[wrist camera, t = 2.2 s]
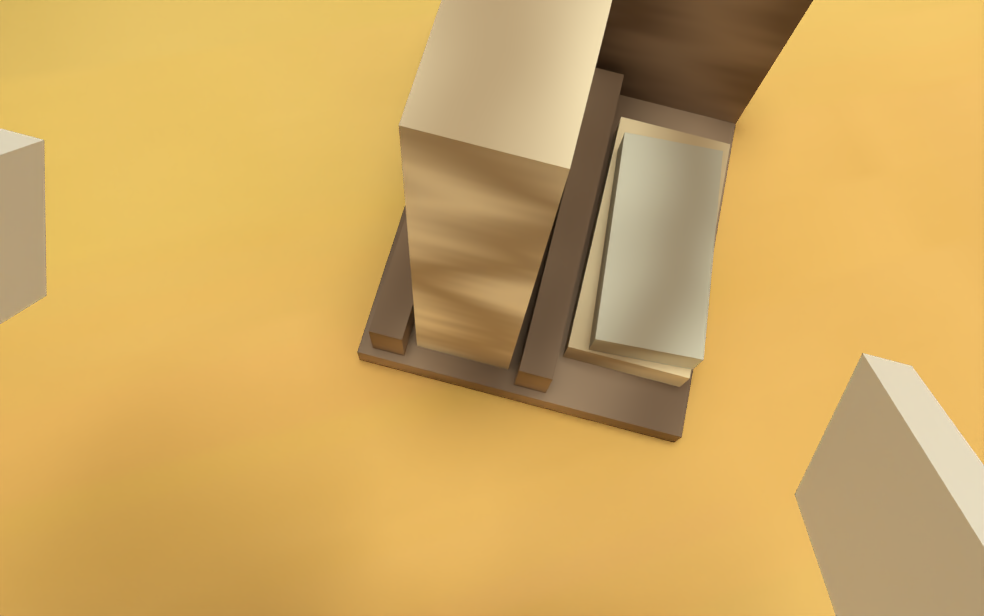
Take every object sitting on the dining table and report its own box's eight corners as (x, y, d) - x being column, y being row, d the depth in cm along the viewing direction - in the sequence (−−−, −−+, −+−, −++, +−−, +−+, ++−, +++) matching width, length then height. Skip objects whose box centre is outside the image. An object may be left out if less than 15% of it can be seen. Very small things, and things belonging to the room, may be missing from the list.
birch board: (416, 345, 30) (398, 125, 16) (495, 83, 34) (536, -276, 20) (508, 369, 30) (570, 169, 16) (575, 103, 34) (672, -243, 20)
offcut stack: (562, 356, 30) (573, 335, 28) (614, 134, 34) (628, 98, 31) (680, 387, 30) (702, 369, 28) (720, 160, 34) (742, 126, 31)
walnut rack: (359, 359, 31) (330, 269, 22) (463, 40, 36) (471, -131, 28) (674, 442, 31) (764, 382, 22) (732, 107, 36) (823, -44, 27)
